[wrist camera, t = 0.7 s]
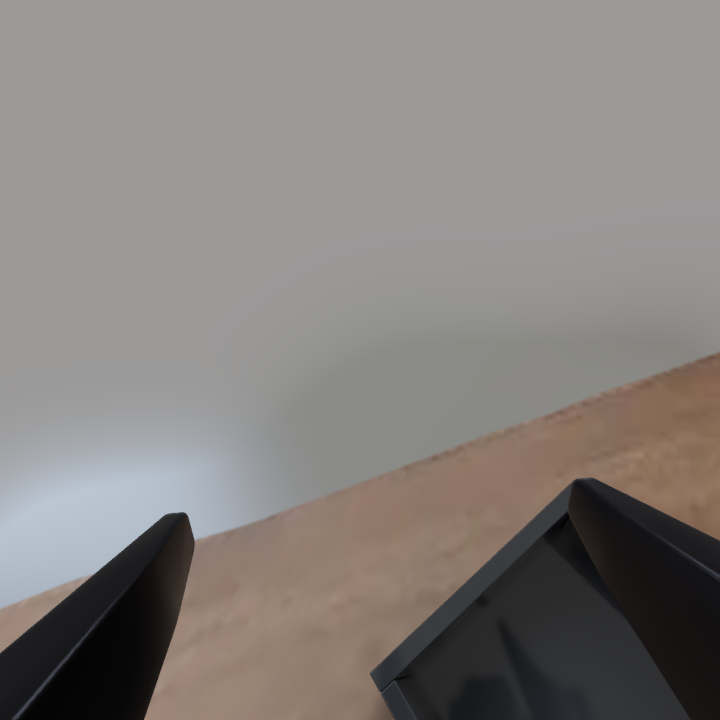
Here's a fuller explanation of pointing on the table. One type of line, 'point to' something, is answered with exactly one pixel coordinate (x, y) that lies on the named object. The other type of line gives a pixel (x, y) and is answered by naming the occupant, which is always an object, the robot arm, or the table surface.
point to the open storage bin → (528, 642)
